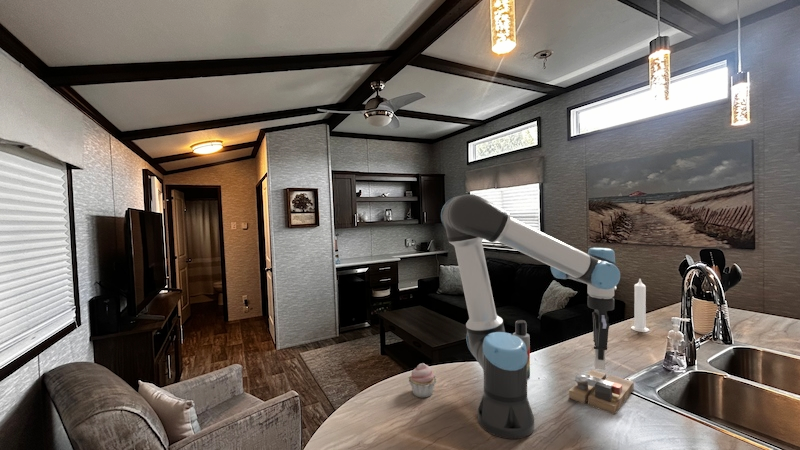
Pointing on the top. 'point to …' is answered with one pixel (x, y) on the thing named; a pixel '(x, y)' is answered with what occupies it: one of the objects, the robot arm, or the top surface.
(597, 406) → the door boards
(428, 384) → the cupcake
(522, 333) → the lotion bottle
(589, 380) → the latch arm
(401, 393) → the top surface
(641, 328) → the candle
